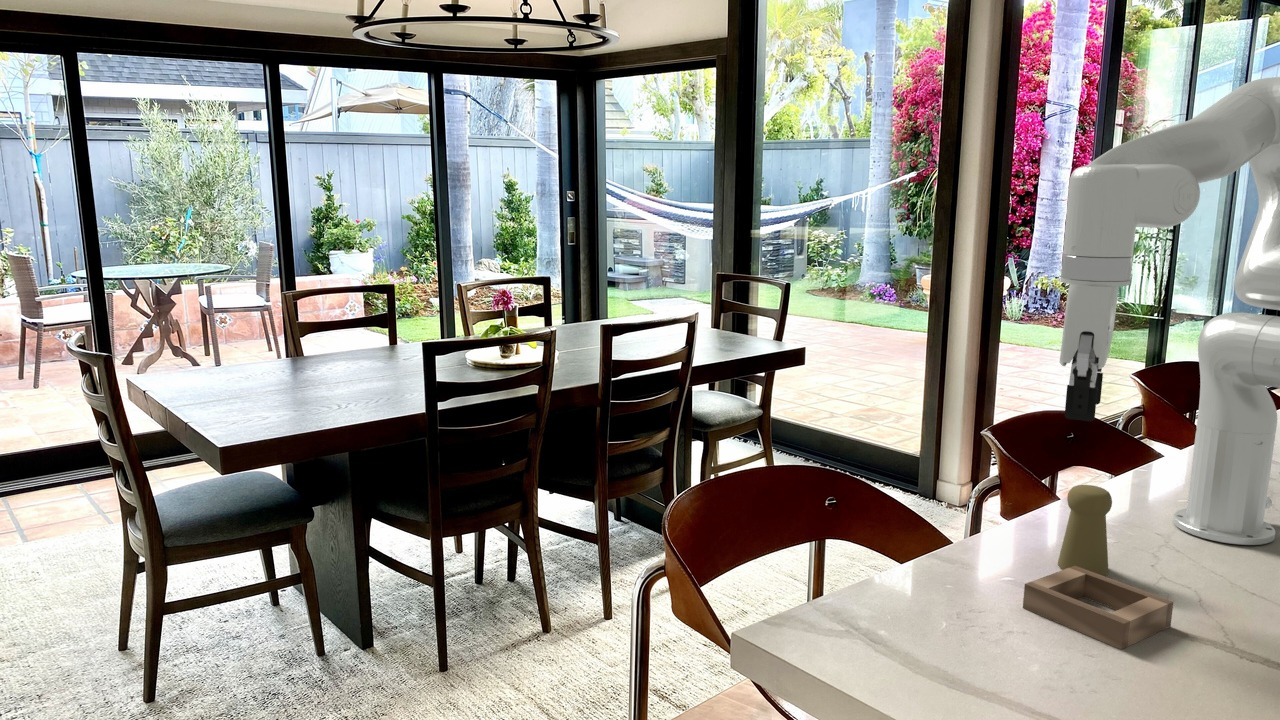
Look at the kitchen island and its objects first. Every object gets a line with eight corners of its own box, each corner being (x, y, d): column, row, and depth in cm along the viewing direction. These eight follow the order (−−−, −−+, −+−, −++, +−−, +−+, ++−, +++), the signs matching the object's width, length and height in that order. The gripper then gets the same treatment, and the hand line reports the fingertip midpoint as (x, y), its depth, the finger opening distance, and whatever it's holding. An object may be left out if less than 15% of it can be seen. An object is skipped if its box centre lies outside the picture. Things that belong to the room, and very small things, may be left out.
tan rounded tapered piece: (1114, 579, 119) (1123, 496, 117) (1063, 575, 120) (1071, 493, 118) (1101, 561, 125) (1109, 481, 123) (1052, 557, 126) (1060, 478, 124)
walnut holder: (1072, 588, 116) (1074, 565, 116) (1170, 626, 106) (1173, 601, 106) (1022, 607, 111) (1024, 583, 110) (1121, 649, 101) (1124, 623, 100)
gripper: (1068, 264, 121) (1057, 394, 124) (1053, 275, 106) (1041, 422, 109) (1134, 267, 117) (1120, 400, 120) (1128, 279, 102) (1112, 431, 105)
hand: (1082, 410), depth 115 cm, fingers open, 9 cm apart
